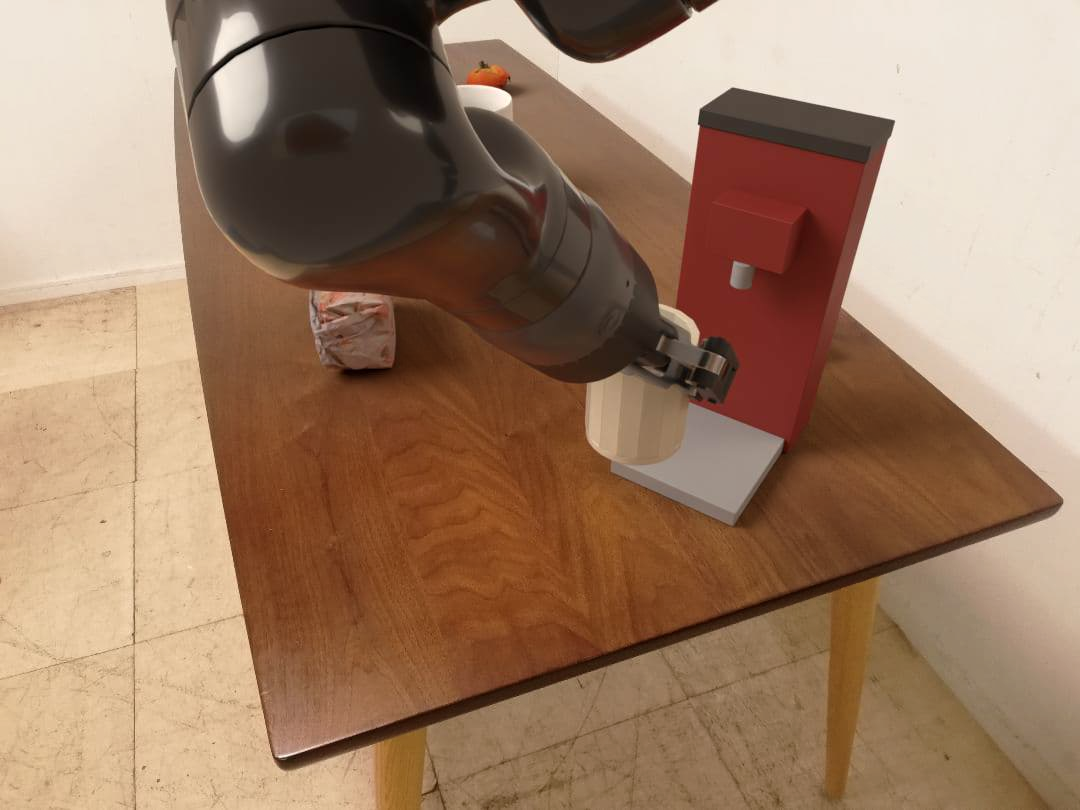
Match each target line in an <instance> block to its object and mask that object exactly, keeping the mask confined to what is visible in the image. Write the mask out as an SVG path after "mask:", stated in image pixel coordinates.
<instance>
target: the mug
mask: <svg viewBox="0 0 1080 810" xmlns="http://www.w3.org/2000/svg"><path fill="white" fill-rule="evenodd" d="M457 89H458V91H459V95H460V98H461V101H462V104H463V107H478V108H482V109H486V110H490V111H493V112H495V113H497V114H499V115H501V116H503V117H505V118H507V119H510V120H511V121H513V122H514V112H513V111H514V110H513V97H512V95H511V94H510V93H508V92H507V91H505V90H503V89H502V90H501V89H498V88H494V87H490V86H483V85H465V84H459V85H457Z"/></svg>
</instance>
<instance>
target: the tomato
mask: <svg viewBox="0 0 1080 810" xmlns="http://www.w3.org/2000/svg"><path fill="white" fill-rule="evenodd" d="M478 65H479V68H475V69H473V70H471V71H470V73H469V74H468V75H467V79H466V83H465V84H464V85H483V86H490V87H494V88H498V89H501V90H503V89H504V88H505V87H506V86H507V83H508V82H509V83H510V84H512V82H511V75H510V74H509V73H508V72H507V70H506V69H504V67H502V66H500V65H498V64H492V65H489V63H488V62H486V63H485V61H484V60H483V59H482V60H480V61H479V62H478Z"/></svg>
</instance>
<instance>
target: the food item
mask: <svg viewBox="0 0 1080 810" xmlns="http://www.w3.org/2000/svg"><path fill="white" fill-rule="evenodd" d="M314 291H315V290H309V293H308V300H309V301H308V303H309V306H308V310H309V321H310V326H311V327H310V328H311V331H312V332H311V333H312V335H313V337H314V339H315V340H314V342H315V348H316V352H317V354H318V357H319V359H320V363H321V365H322V366H323V367H324V368H325V369H326V370H327V371H328V370H329V369H331V370H332V371H335V370H345V371H346V370H353V371H356V370H376V369H379V370H381V369H392V368H393V365H394V364H395V356H396V345H397V344H396V342H397V332H396V321H395V320H396V319H395V312H394V311H395V310H394V309H395V308H396V305H395V303H393V298H392V297H393V296H386V295H379V294H370V293H354V292H327V291H315V292H314ZM313 293H314V295H313Z"/></svg>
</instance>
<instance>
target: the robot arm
mask: <svg viewBox="0 0 1080 810" xmlns="http://www.w3.org/2000/svg"><path fill="white" fill-rule="evenodd" d="M164 1H165V3H164V4H165V11H166V18H167V25H168V32H169V36H170V37H169V38H170V42H171V46H172V52H173V57H174V61H175V67H176V71H177V78H178V83H179V89H180V94H181V100H182V101H181V102H182V106H183V111H184V117H185V122H186V123H185V124H186V129H187V134H188V139H189V145H190V151H191V156H192V162H193V167H194V172H195V176H196V177H195V178H196V180H197V184H198V189H199V192H200V195H201V198H202V201H203V203H204V205H205V208H206V210H207V211H208V214H209V215H210V216H211V219H212V220H213V222H214V224H215V225H216V227H217V228H218V229H219V231H220V232H221V233H222V234H223V236H224V237H225V238H226V239H227V241H228V242H229V243H230V244H231V245H232V246H233V247H234V248H235V249H237V251H238V252H239V253H241V255H242V256H244V257H245V258H246V259H247V260H248V261H249V262H250V263H251V264H252V265H253V266H255V267H257V268H258V269H260V270H261V271H262V272H264V273H265V274H267V276H270V277H272V278H273V279H275V280H277V281H279V282H281V283H283V284H287V285H289V286H291V287H294V288H295V287H296V288H299V289H302V290H309V291H310V290H312V291H327V292H354V293H370V294H379V295H386V296H391V297H396V298H401V299H402V298H403V299H413V300H423V301H427V303H430V304H432V305H433V306H435V307H436V308H438V309H440V310H442V311H444V312H446V313H447V314H449V315H450V316H452V317H454V318H456V319H458V320H460V321H461V322H463V323H464V324H466V325H467V326H468V327H469V329H470V330H472V331H473V332H474V333H475V334H476V335H477V336H479V337H480V338H481V339H483V340H484V341H485V342H487V343H488V344H490V345H491V346H493V347H495V348H497V349H499V350H501V351H502V352H504V353H506V354H508V355H510V356H511V357H513V358H515V359H516V360H518V361H520V362H522V363H524V364H525V365H527V366H529V367H530V368H532V369H534V370H536V371H538V372H539V373H542V374H544V375H545V376H546V377H549V378H551V379H553V380H556V381H559V382H563V383H568V384H577V385H578V384H579V385H580V384H582V385H583V384H587V383H591V382H596V381H600V380H603V379H606V378H608V377H610V376H612V375H614V374H616V373H622V374H625V375H628V376H631V375H632V376H634V377H636V378H638V379H640V380H642V381H644V382H646V383H648V384H650V385H653V386H656V387H660V388H663V389H668V388H670V387H671V386H673V387H675V388H676V389H678V390H680V391H681V392H680V393H682V394H684V395H686V396H687V397H689V398H690V399H693V400H695V401H698V402H701V401H702V400H703V398H705V399H707V402H709V403H711V404H714V405H716V403H717V404H720V405H723V403H724V401H725V398H726V396H727V394H728V391H729V389H730V387H731V384H732V382H733V380H734V377H735V375H736V372H737V370H738V368H739V365H740V363H739V361H738V358H737V356H736V354H735V351H734V349H733V347H732V345H731V344H730V343H728V342H726V339H724V338H722V337H719V336H717V337H712V336H709V338H708V339H703V340H702V342H701V344H700V347H699V348H698V347H696V346H695V345H693V344H692V343H691V334H690V332H689V331H687V330H685V329H684V328H682V327H680V326H679V325H677V324H675V323H674V322H672V321H670V320H669V319H667V318H665V317H664V316H662V315H661V314H660V311H659V304H660V303H659V294H658V293H659V292H658V289H657V288H658V287H657V285H656V281H655V278H654V276H653V273H652V271H651V268H649V265H648V264H647V263H646V261H645V260H644V259H643V257H642V256H641V254H639V253H638V251H637V250H636V249H635V248H634V247H633V245H632V244H631V243H630V242H629V240H628V239H627V238H626V236H625V235H624V234H623V233H622V231H621V230H620V229H619V228H618V227H617V225H616V224H615V223H614V222H613V221H612V219H611V218H610V216H608V214H607V213H606V212H605V211H604V209H603V208H602V207H601V206H600V205H599V204H598V203H597V202H596V201H595V200H594V199H593V198H592V197H590V196H589V195H588V194H586V193H585V192H584V191H583V190H581V189H580V188H578V187H576V186H575V184H574V183H573V182H572V180H570V179H569V178H568V176H567V175H566V174H565V173H564V172H563V170H562V169H561V167H559V166H558V164H557V163H556V162H555V161H554V160H553V158H552V157H551V156H550V154H549V153H548V152H547V151H546V150H545V149H544V148H543V147H542V146H541V145H540V144H539V142H538V141H537V140H536V139H535V138H534V137H533V136H531V135H530V134H529V133H528V132H527V131H526V130H524V129H523V128H522V127H521V126H519V125H518V124H517V123H516V122H515V121H514V120H513V121H511V120H510V119H507V118H505V117H503V116H501V115H499V114H497V113H495V112H493V111H490V110H486V109H482V108H478V107H463V104H462V101H461V98H460V95H459V91H458V89H457V86H458V85H457V82H456V79H455V76H454V73H453V70H452V66H451V63H450V60H449V57H448V54H447V50H446V48H445V44H444V41H443V38H442V36H441V32H440V29H439V27H440V26H441V25H442V24H444V22H446V21H447V20H448V19H449V18H452V17H453V16H454V15H455V14H458V13H460V12H462V11H463V10H466V9H468V8H471V7H474V6H476V5H479V4H480V5H481V4H483V3H486V2H489V1H490V2H491V0H164ZM513 1H514V2H515V3H516V5H517V6H518V7H519V9H520V10H521V11H522V12H523V14H524V15H525V17H526V18H528V20H529V22H530V23H531V24H532V25H533V27H534V28H535V29H536V31H538V32H539V33H540V35H542V37H544V38H545V39H546V41H547V42H549V43H550V44H551V45H552V46H553V47H554V48H556V49H557V50H558V51H559V52H561V53H562V54H564V55H565V56H567V57H569V58H572V60H573V59H574V60H575V61H577V62H582V63H586V64H605V63H609V62H613V61H616V60H618V59H622V58H624V57H626V56H628V55H630V54H632V53H634V52H636V51H639V50H641V49H642V48H644V47H646V46H648V45H649V44H651V43H653V42H654V41H656V40H658V39H660V38H661V37H663V36H665V35H666V34H669V33H670V32H671V31H673V30H674V29H676V28H677V27H679V26H681V25H683V24H684V23H685V22H688V20H690V19H691V18H692V17H693V14H694V12H695V13H698V14H701V13H703V12H704V11H706V10H707V9H709V8H710V7H712V6H713V5H715V4H717V3H718V2H720V1H721V0H513ZM693 10H694V12H693ZM680 364H682V365H684V369H683V371H682V373H681V376H680V378H679V377H678V376H677V370H678V368H679V365H680ZM641 366H648V367H652V368H651V369H650V370H647V369H645V368H643V367H641Z"/></svg>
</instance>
